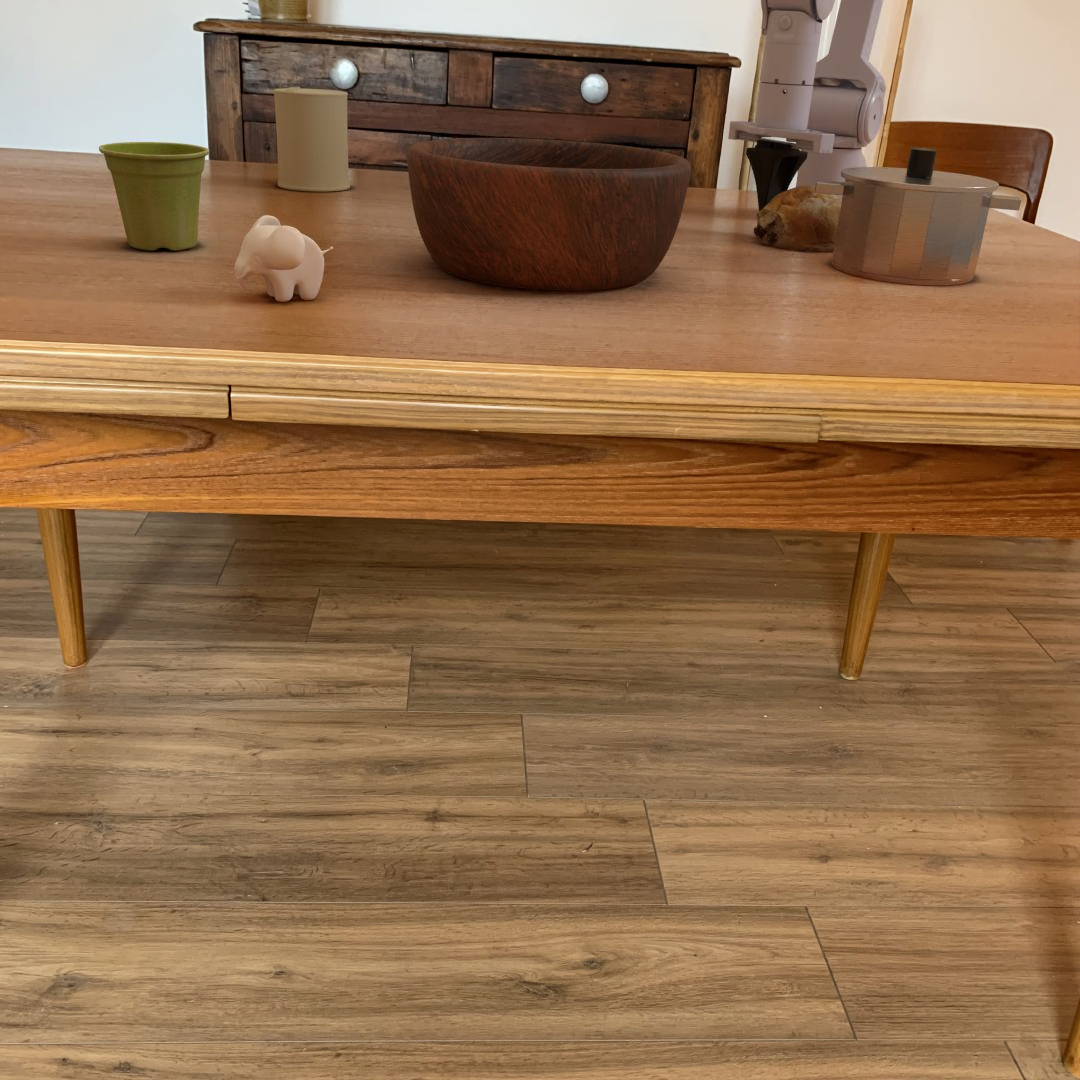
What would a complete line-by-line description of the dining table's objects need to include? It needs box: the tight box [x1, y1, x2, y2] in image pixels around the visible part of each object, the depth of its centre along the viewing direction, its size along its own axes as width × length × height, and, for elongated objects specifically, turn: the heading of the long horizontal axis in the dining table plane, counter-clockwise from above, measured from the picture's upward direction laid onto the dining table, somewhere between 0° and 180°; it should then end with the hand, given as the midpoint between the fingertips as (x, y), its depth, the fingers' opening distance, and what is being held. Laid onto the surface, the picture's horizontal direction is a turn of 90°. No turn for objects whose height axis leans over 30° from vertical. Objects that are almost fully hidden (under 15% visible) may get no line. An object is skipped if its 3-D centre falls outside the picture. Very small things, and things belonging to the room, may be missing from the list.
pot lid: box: [841, 147, 1000, 193], centre depth 105 cm, size 15×15×4 cm
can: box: [273, 86, 351, 193], centre depth 139 cm, size 9×9×12 cm
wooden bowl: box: [406, 137, 692, 291], centre depth 98 cm, size 25×25×10 cm
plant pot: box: [98, 141, 210, 252], centre depth 100 cm, size 9×9×9 cm
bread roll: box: [753, 186, 842, 253], centre depth 119 cm, size 10×10×8 cm
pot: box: [815, 179, 1022, 286], centre depth 107 cm, size 14×19×8 cm
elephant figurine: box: [230, 214, 334, 303], centre depth 84 cm, size 7×8×6 cm
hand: (768, 214), depth 123 cm, fingers closed
